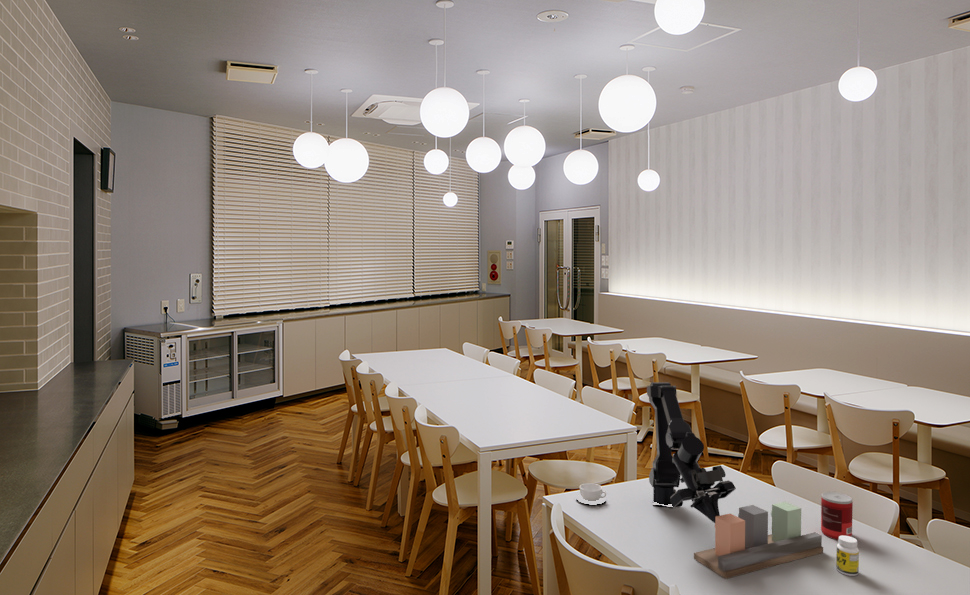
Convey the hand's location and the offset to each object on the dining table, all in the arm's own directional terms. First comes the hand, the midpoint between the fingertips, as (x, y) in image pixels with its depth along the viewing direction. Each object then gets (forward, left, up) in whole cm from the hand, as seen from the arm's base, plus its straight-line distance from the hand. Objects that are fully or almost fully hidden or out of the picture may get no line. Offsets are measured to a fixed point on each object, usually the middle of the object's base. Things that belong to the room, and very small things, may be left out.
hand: (719, 524), depth 154 cm
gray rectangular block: (+8, +6, -7) cm, 12 cm away
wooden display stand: (+10, +4, -9) cm, 14 cm away
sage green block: (+17, +12, -7) cm, 22 cm away
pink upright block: (+3, -3, -7) cm, 8 cm away
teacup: (-40, +25, -9) cm, 48 cm away
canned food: (+31, +26, -9) cm, 41 cm away
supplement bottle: (+30, +3, -9) cm, 31 cm away
